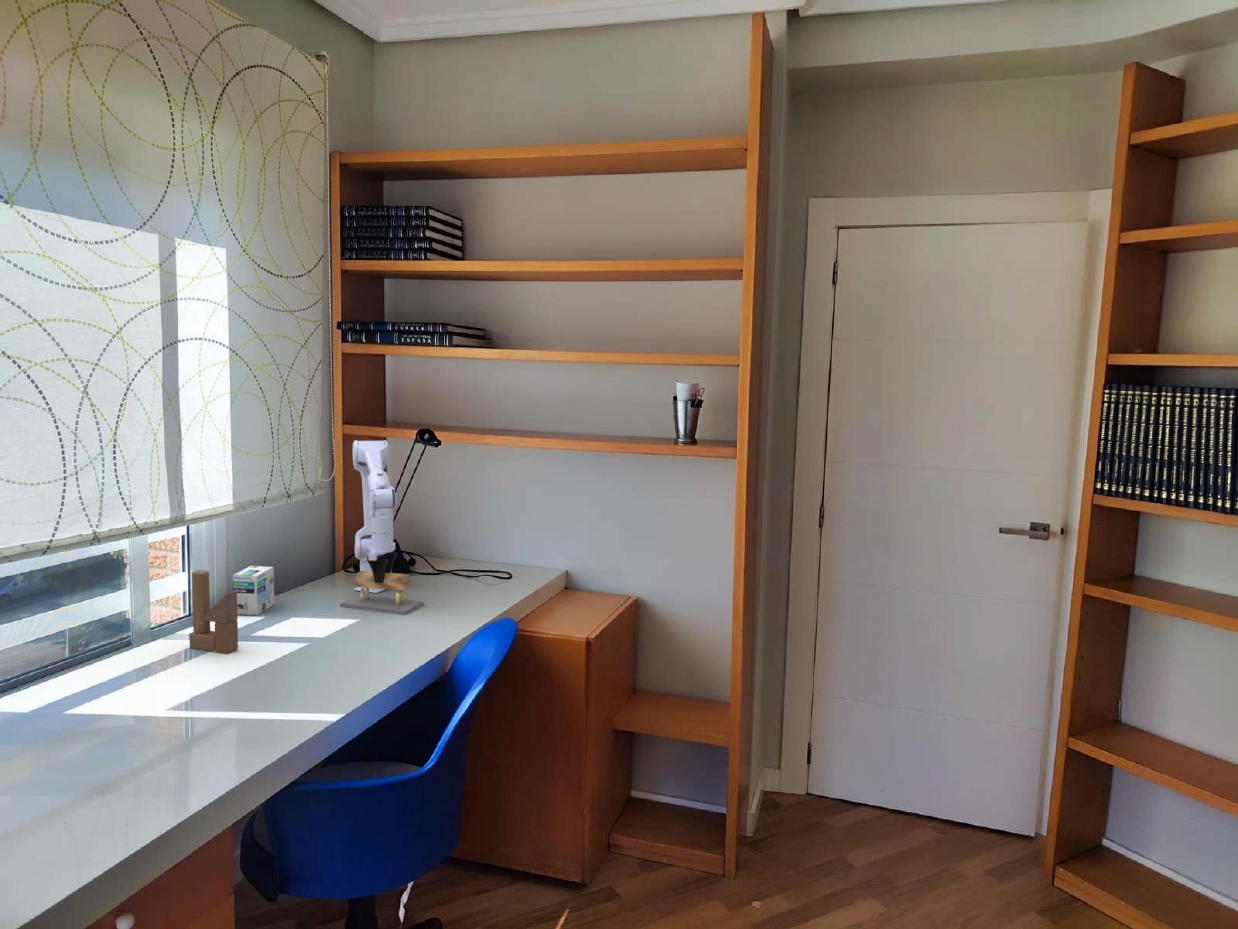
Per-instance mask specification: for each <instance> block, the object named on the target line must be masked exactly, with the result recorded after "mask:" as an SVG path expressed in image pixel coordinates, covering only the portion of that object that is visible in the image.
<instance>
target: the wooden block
mask: <svg viewBox="0 0 1238 929" xmlns="http://www.w3.org/2000/svg"><path fill="white" fill-rule="evenodd" d="M191 586H192V587H191V588H192V590H191V591H192V592H191V594H192V595H191V597H192V599H191V600H192V623H193V624H192V627H193V631H192V632H190V633H189V648H190V649H195V648H196V650H202V651H207V650H210V651H209V652H213V651H216V653H218V652H220V653H219V654H224V653H225V654H226V655H228V654H230V652H231V653H233V652H235V651H238V650H239V635H238V633H239V632H238V629H239V628H238V627H239V625H238V624H239V623H238V618H239V617H238V615H239V614H237V590H236V591H233V590H232V591H229V592H227V593H224V595H223V596H222V597H221V598H220V599H219V600H218V601H217V603H216V604H214V605H213V607H212V608H211V598H210V597H211V596H210V594H211V593H210V592H211V591H210V572H209V570H206V569H199V570H194V571H192V572H191ZM211 622H212V623H214V630H211ZM237 649H238V650H237ZM234 650H235V651H234ZM225 654H224V655H225Z"/></svg>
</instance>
